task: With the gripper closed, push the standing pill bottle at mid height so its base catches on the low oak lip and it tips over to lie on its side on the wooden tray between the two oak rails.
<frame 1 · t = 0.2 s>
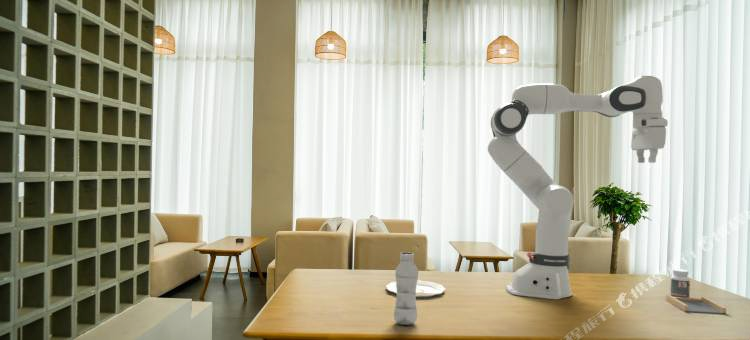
hand: (646, 162, 166), 47 cm above the table, tool pointing down, fingers open, 8 cm apart
plastic bottle: (405, 324, 135), on the table
plate: (415, 292, 170), on the table
pill bottle: (679, 298, 167), on the table
wooden tray: (694, 307, 157), on the table
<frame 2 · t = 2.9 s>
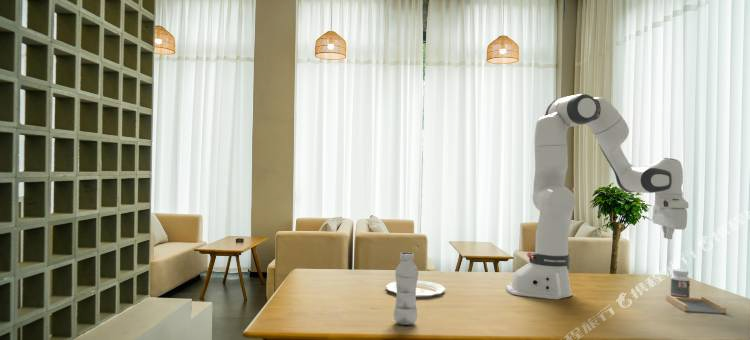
hand: (667, 238, 178), 19 cm above the table, tool pointing down, fingers closed
nothing on the table moved.
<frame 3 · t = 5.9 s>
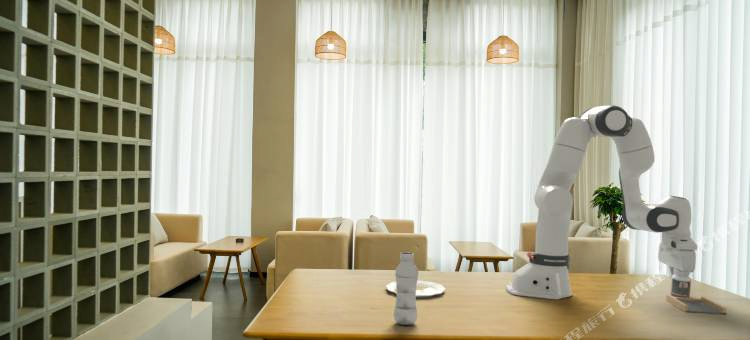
hand: (674, 279, 171), 6 cm above the table, tool pointing down, fingers closed
pill bottle: (679, 297, 167), on the table, touching gripper
everything else where it was.
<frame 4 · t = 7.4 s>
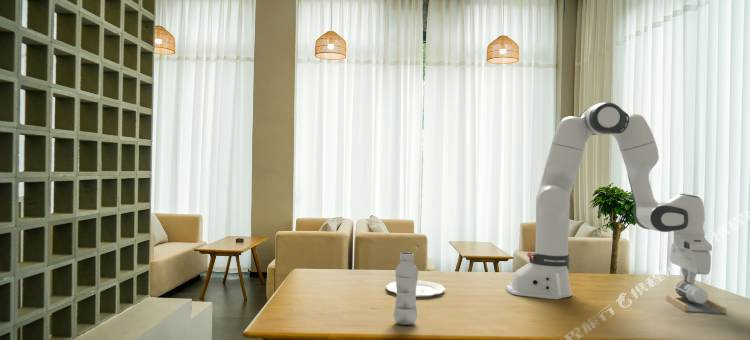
hand: (688, 281, 162), 7 cm above the table, tool pointing down, fingers closed, pressing on pill bottle
pill bottle: (682, 288, 165), point 4 cm above the table, touching wooden tray, gripper
everything else where it was.
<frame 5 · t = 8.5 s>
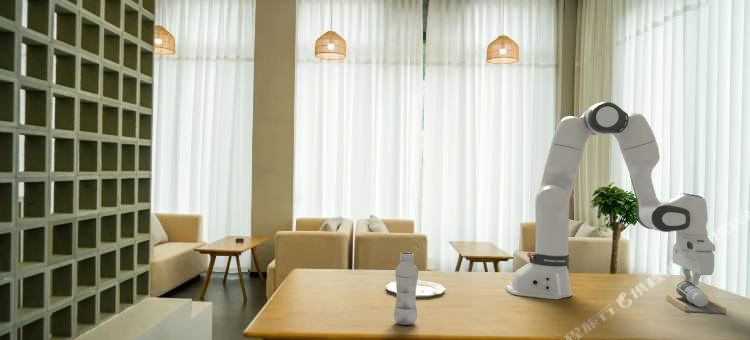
hand: (691, 282, 161), 7 cm above the table, tool pointing down, fingers open, 3 cm apart
pill bottle: (683, 287, 165), point 4 cm above the table, touching wooden tray, gripper
everything else where it was.
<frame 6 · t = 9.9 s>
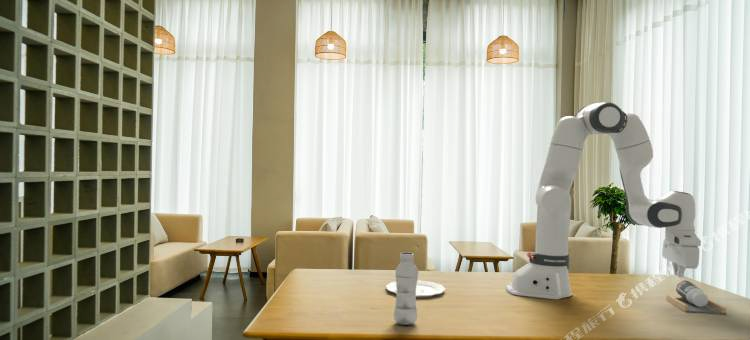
hand: (678, 276, 168), 8 cm above the table, tool pointing down, fingers closed
pill bottle: (683, 287, 165), point 4 cm above the table, touching wooden tray
everything else where it was.
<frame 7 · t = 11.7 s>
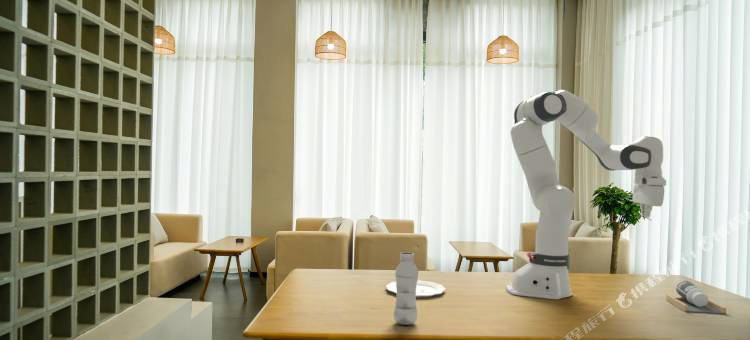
hand: (645, 216, 179), 27 cm above the table, tool pointing down, fingers closed
nothing on the table moved.
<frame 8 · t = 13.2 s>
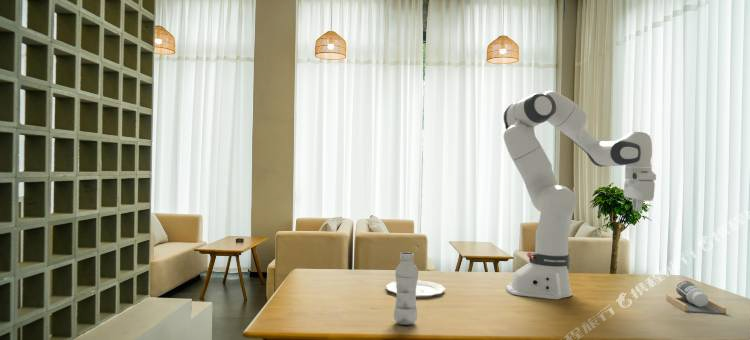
hand: (637, 211, 181), 29 cm above the table, tool pointing down, fingers closed
nothing on the table moved.
at the end: pill bottle tilted 100°; pill bottle inside the target area (5.1 cm from its centre), point 4.5 cm above the table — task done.
